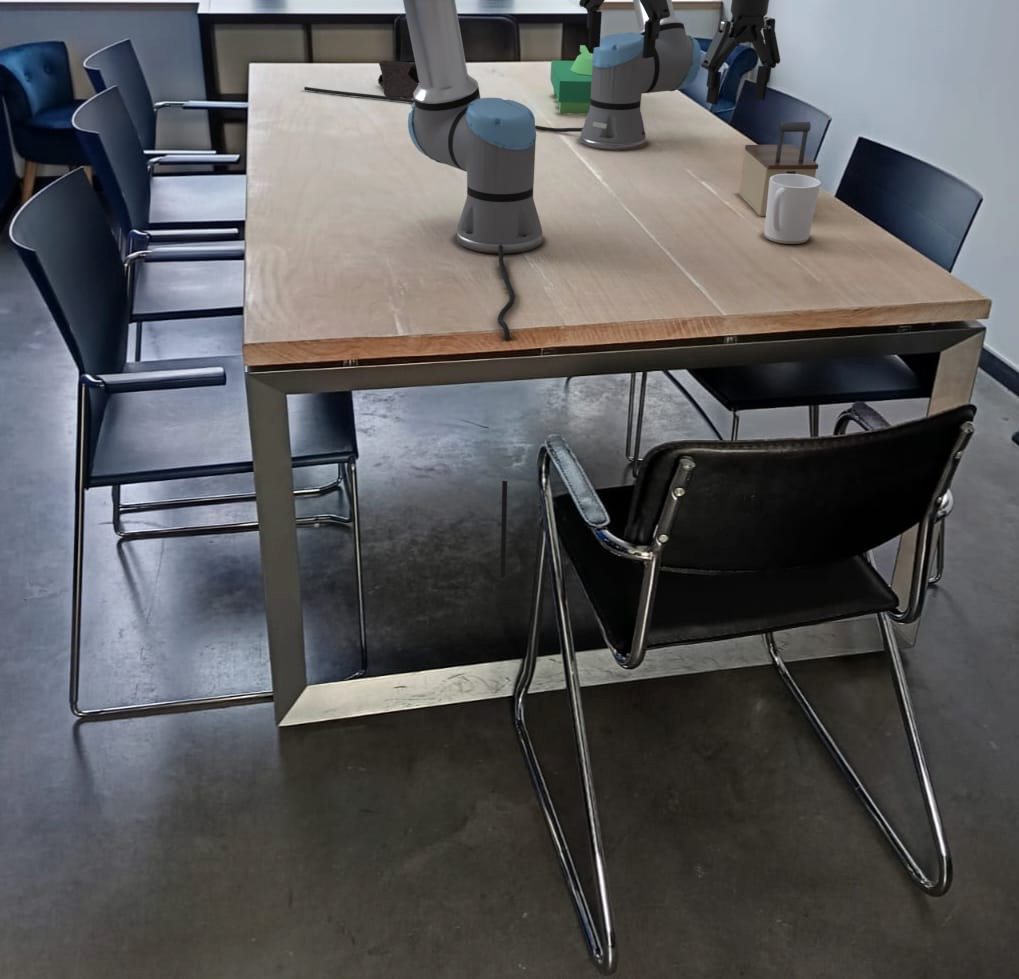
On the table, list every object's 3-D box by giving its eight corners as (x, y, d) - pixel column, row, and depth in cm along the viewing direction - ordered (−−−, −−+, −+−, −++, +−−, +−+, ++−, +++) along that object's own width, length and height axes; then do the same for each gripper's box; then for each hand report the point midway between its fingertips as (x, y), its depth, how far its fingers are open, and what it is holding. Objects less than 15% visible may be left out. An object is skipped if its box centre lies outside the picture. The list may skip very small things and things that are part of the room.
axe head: (443, 87, 294) (392, 77, 287) (436, 115, 299) (385, 106, 292) (421, 62, 307) (371, 52, 300) (414, 89, 311) (365, 80, 304)
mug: (775, 225, 205) (784, 170, 200) (819, 236, 201) (829, 180, 195) (747, 240, 198) (754, 183, 193) (791, 251, 193) (801, 193, 188)
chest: (808, 215, 212) (816, 168, 207) (759, 216, 211) (766, 168, 206) (785, 193, 224) (791, 148, 219) (738, 194, 223) (744, 149, 218)
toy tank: (613, 42, 302) (631, 66, 272) (610, 88, 309) (627, 117, 279) (549, 40, 301) (560, 65, 272) (547, 87, 308) (558, 116, 278)
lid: (817, 169, 207) (825, 125, 202) (768, 169, 206) (774, 125, 201) (792, 148, 219) (798, 106, 215) (744, 148, 218) (750, 107, 214)
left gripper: (696, -66, 197) (684, 59, 208) (590, -76, 211) (584, 41, 222) (671, -64, 192) (660, 64, 203) (564, -74, 207) (560, 45, 218)
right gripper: (717, -2, 217) (702, 109, 228) (808, -6, 228) (790, 100, 239) (692, -7, 222) (679, 101, 233) (783, -11, 233) (766, 92, 245)
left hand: (620, 52), depth 213 cm, fingers open, 13 cm apart
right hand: (735, 101), depth 236 cm, fingers open, 13 cm apart
